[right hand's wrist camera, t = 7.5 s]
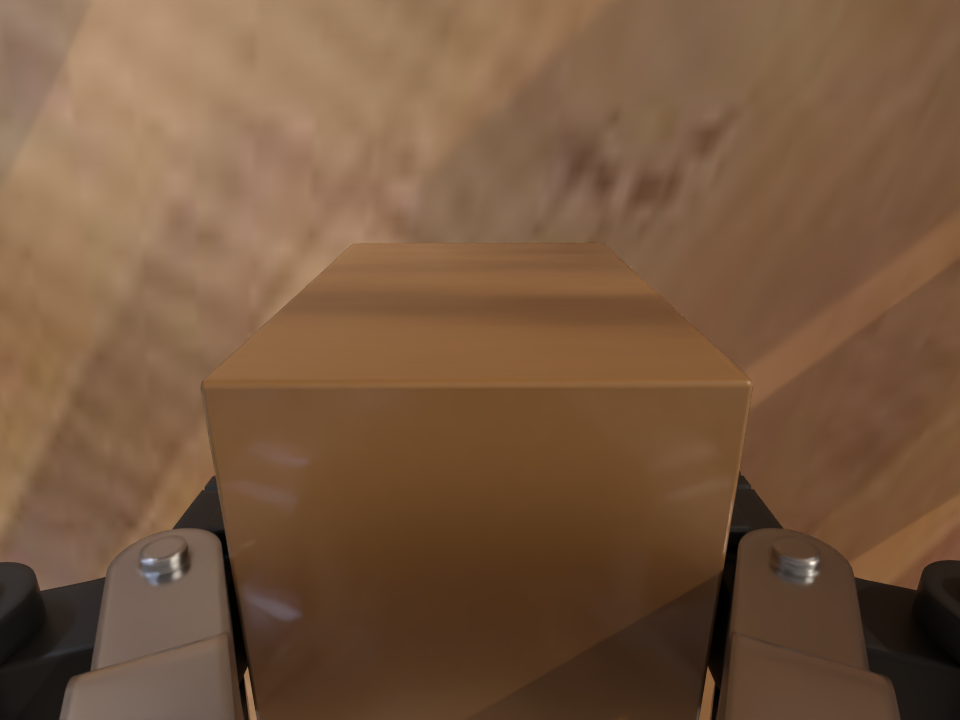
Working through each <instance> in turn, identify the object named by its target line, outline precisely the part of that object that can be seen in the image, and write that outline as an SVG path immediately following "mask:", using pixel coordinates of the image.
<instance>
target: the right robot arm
mask: <svg viewBox="0 0 960 720" xmlns="http://www.w3.org/2000/svg"><path fill="white" fill-rule="evenodd" d="M247 667H248V664H247V658H246V652H245V646H244V640H243V634H242V629H241V623H240V617H239V611H238V605H237V599H236V593H235V587H234V582H233V576H232V570H231V564H230V558H229V552H228V546H227V540H226V534H225V529H224V523H223V517H222V511H221V505H220V499H219V493H218V487H217V482H216V476H213V477H212V478H211V479H210V481H209V482H208V483H207V485H206V486H205V490H202V491H201V493H200V494H199V495H198V496H197V498H196V499H195V500H194V502H193V503H192V504H191V506H190V507H189V508H188V509H187V511H186V512H185V513H184V515H183V516H182V517H181V519H180V520H179V521H178V522H177V524H176V525H175V526H174V528H173V529H172V530H167V531H164V532H160V533H156V534H154V535H151V536H148V537H146V538H144V539H141V540H139V541H137V542H135V543H134V544H132V545H130V546H129V547H127V548H126V549H124V550H123V551H122V552H121V553H120V554H118V555H117V556H116V557H115V559H114V560H113V561H112V562H111V564H110V566H109V567H108V570H107V573H106V577H103V578H100V579H96V580H92V581H88V582H83V583H78V584H73V585H68V586H63V587H58V588H53V589H48V590H44V591H40V588H39V585H38V582H37V578H36V575H35V573H34V571H33V570H32V569H31V568H30V567H29V566H27V565H24V564H20V563H15V562H0V720H250V713H249V704H248V696H247V691H246V685H245V679H244V674H245V671H246V669H247ZM708 667H709V669H710V672H711V674H712V677H713V679H714V681H715V685H714V691H713V696H712V704H711V713H710V720H960V561H955V560H945V561H938V562H934V563H931V564H929V565H928V566H926V567H925V568H924V570H923V572H922V575H921V578H920V582H919V585H918V588H917V590H913V589H908V588H903V587H898V586H893V585H888V584H883V583H878V582H873V581H868V580H864V579H860V578H856V577H854V573H853V570H852V567H851V566H850V564H849V562H848V561H847V560H846V559H845V557H844V556H843V555H842V554H840V553H839V552H838V551H837V550H836V549H834V548H833V547H831V546H830V545H828V544H826V543H825V542H823V541H821V540H819V539H816V538H814V537H812V536H809V535H806V534H804V533H800V532H796V531H793V530H787V529H783V528H782V526H781V525H780V524H779V522H778V521H777V520H776V518H775V517H774V516H773V514H772V513H771V512H770V510H769V509H768V508H767V507H766V505H765V504H764V503H763V501H762V500H761V499H760V497H759V496H758V495H757V493H756V492H755V491H754V489H751V485H750V484H749V483H748V481H747V480H746V479H745V477H744V476H741V472H740V471H739V476H738V482H737V488H736V495H735V501H734V507H733V513H732V519H731V525H730V531H729V538H728V544H727V550H726V556H725V562H724V568H723V574H722V581H721V587H720V593H719V599H718V605H717V611H716V617H715V624H714V630H713V636H712V642H711V648H710V654H709V661H708Z"/></svg>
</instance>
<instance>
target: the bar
mask: <svg viewBox="0 0 960 720" xmlns="http://www.w3.org/2000/svg"><path fill="white" fill-rule="evenodd" d="M752 390H753V384H752V381H751V379H750V378H749V377H747V376H746V375H745V374H744V373H743V372H742V371H741V370H740V369H739V368H738V367H737V366H736V365H734V364H733V363H732V362H731V361H730V360H729V359H728V358H727V357H726V356H725V355H724V354H723V353H722V352H720V351H719V350H718V349H717V348H716V347H715V346H714V345H713V344H712V343H711V342H710V341H709V340H707V339H706V338H705V337H704V336H703V335H702V334H701V333H700V332H699V331H698V330H697V329H696V328H694V327H693V326H692V325H691V324H690V323H689V322H688V321H687V320H686V319H685V318H684V317H683V316H681V315H680V314H679V313H678V312H677V311H676V310H675V309H674V308H673V307H672V306H671V305H670V304H668V303H667V302H666V301H665V300H664V299H663V298H662V297H661V296H660V295H659V294H658V293H657V292H655V291H654V290H653V289H652V288H651V287H650V286H649V285H648V284H647V283H646V282H645V281H644V280H642V279H641V278H640V277H639V276H638V275H637V274H636V273H635V272H634V271H633V270H632V269H631V268H630V267H628V266H627V265H626V264H625V263H624V262H623V261H622V260H621V259H620V258H619V257H618V256H617V255H615V254H614V253H613V252H612V251H611V250H610V249H609V248H608V247H607V246H606V245H605V244H603V243H355V244H353V245H351V246H350V247H349V248H348V249H347V250H346V251H345V252H344V253H343V254H341V255H340V256H339V257H338V258H337V259H336V260H335V261H334V262H333V263H332V264H330V265H329V266H328V267H327V268H326V269H325V270H324V271H323V272H322V273H321V274H319V275H318V276H317V277H316V278H315V279H314V280H313V281H312V282H311V283H310V284H308V285H307V286H306V287H305V288H304V289H303V290H302V291H301V292H300V293H299V294H297V295H296V296H295V297H294V298H293V299H292V300H291V301H290V302H289V303H288V304H286V305H285V306H284V307H283V308H282V309H281V310H280V311H279V312H278V313H277V314H275V315H274V316H273V317H272V318H271V319H270V320H269V321H268V322H267V323H266V324H264V325H263V326H262V327H261V328H260V329H259V330H258V331H257V332H256V333H255V334H253V335H252V336H251V337H250V338H249V339H248V340H247V341H246V342H245V343H244V344H242V345H241V346H240V347H239V348H238V349H237V350H236V351H235V352H234V353H233V354H231V355H230V356H229V357H228V358H227V359H226V360H225V361H224V362H223V363H222V364H220V365H219V366H218V367H217V368H216V369H215V370H214V371H213V372H212V373H211V374H209V375H208V376H207V377H206V378H205V379H204V380H203V381H202V384H201V393H202V399H203V405H204V411H205V417H206V423H207V429H208V435H209V440H210V446H211V452H212V458H213V464H214V470H215V476H216V482H217V487H218V493H219V499H220V505H221V511H222V517H223V523H224V529H225V534H226V540H227V546H228V552H229V558H230V564H231V570H232V576H233V582H234V587H235V593H236V599H237V605H238V611H239V617H240V623H241V629H242V634H243V640H244V646H245V652H246V658H247V664H248V670H249V676H250V681H251V687H252V693H253V699H254V705H255V711H256V717H257V720H699V716H700V710H701V704H702V697H703V691H704V685H705V679H706V673H707V667H708V661H709V654H710V648H711V642H712V636H713V630H714V624H715V617H716V611H717V605H718V599H719V593H720V587H721V581H722V574H723V568H724V562H725V556H726V550H727V544H728V538H729V531H730V525H731V519H732V513H733V507H734V501H735V495H736V488H737V482H738V476H739V470H740V464H741V458H742V452H743V445H744V439H745V433H746V427H747V421H748V415H749V409H750V402H751V396H752Z"/></svg>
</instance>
